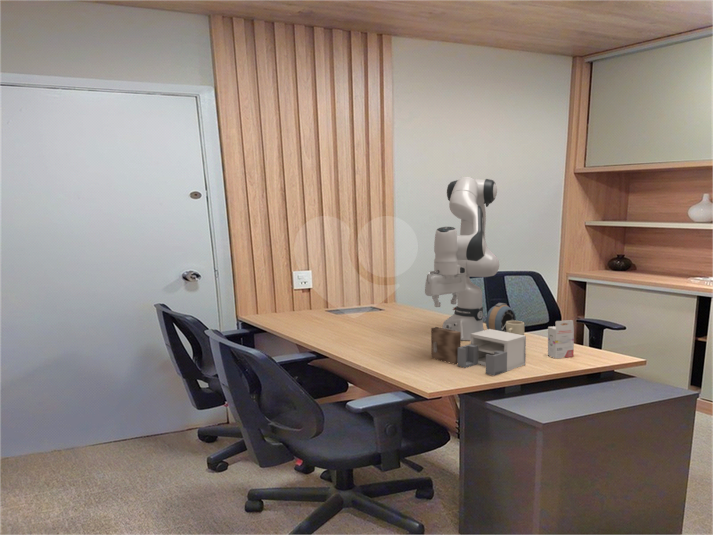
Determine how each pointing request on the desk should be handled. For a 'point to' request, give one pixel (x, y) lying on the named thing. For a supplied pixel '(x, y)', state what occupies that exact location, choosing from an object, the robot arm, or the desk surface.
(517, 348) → the cabinet
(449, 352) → the wooden block
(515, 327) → the character mug
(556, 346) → the ink cartridge box
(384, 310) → the desk surface
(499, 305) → the alarm clock
